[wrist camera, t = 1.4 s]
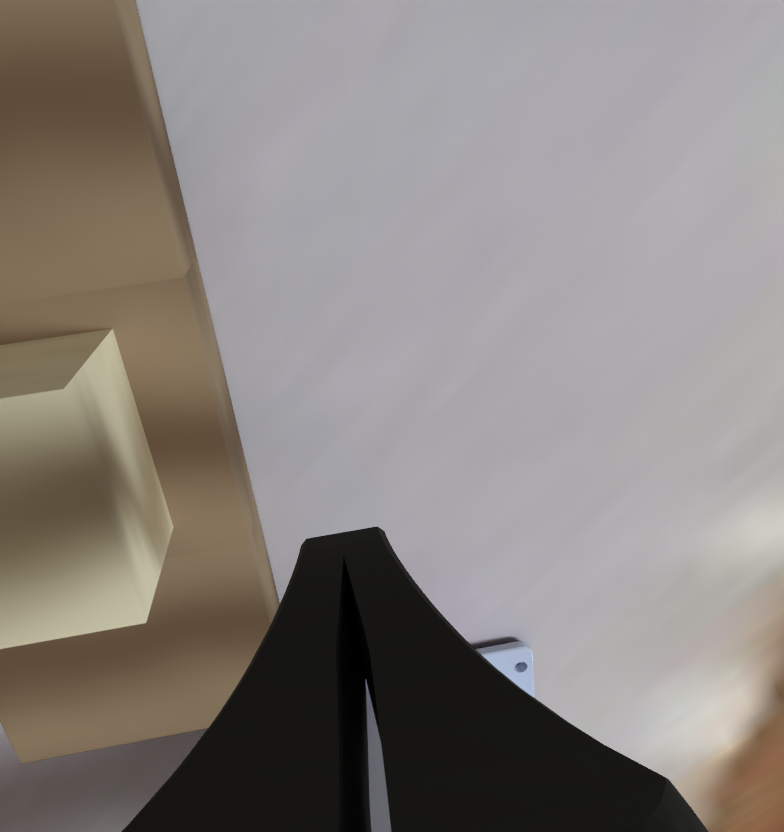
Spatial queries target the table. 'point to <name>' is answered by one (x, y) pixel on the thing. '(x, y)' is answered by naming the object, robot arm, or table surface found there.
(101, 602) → the maple block
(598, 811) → the robot arm
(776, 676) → the table surface
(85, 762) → the table surface
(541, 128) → the table surface
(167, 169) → the trap deck
